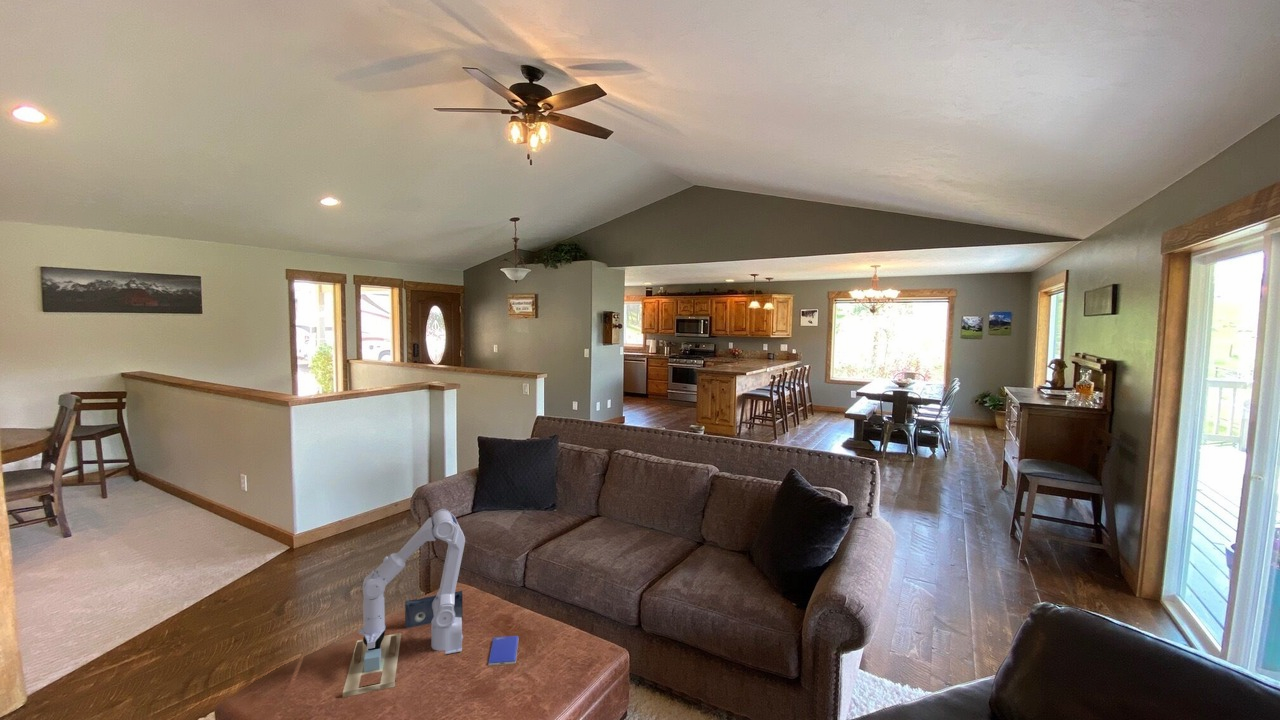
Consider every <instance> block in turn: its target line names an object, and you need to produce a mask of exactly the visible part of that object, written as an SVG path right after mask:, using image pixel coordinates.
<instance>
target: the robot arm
mask: <svg viewBox="0 0 1280 720" xmlns="http://www.w3.org/2000/svg"><path fill="white" fill-rule="evenodd" d="M436 538H437V539H439V540H441V541H443V542H445V543H446V544H448V545H447V551H446V555H445V560H444V563H443V569H442V570H443V571H442V576H441V580H440V584H439V585H440V586H439V589H438V590H437V593H436V595H437V596H436V595H435V596H436V598H435V599H434V600H433V602H432V609H433V614H434V617H433V619H432V621H431V623H430V624H431V625H430V627H431V629H430V630H431V631H430V633H431V634H430V639H431V643H430V644H431V648H432V650H434V651H438V652H439V651H440V652H441V651H444V655H449V654H455V653H459V652H462V651H463V641H464V634H463V620H462V617H455V612H454V604H455V592H456V589H457V583H458V579H459V574H460V571H461V570H460V568H461V563H462V560H463V559H462V558H463V554H464V549H465V544H466V537H465V534H464V531H463V530H462V529H461V526H460V524H459V522H458V520H457V518H456V516H455V515H454V514H453V513H452V512H450V511H449V510H447V509H445V508H444V509H439V510H437V511H435V512H434V513H433V515H432V517H429V518H428V519H426V521H425V522H423V524H422V526H421V527H420V528H418V530H417V531H416V532H415V533H414V534H413V536H411V538H410V539H409V540H408V541H407V542H406V543H405V544H404V545H403V546H402V547H401V548H400V550H399V551H398V552H394V553H391V554H389V555H388V556H387V555H386V556H385V557H383V559H382V561H383V562H382V563H381V564H380V565H378V566H377V568H376V569H372V571H371V572H370V573H369V574H367V575H366V576H365V578H364V579H363V582H362V594H363V601H362V605H363V606H362V609H363V610H362V612H363V615H362V616H363V617H362V619H363V627H362V628H361V627H360V628H359V629H358V634H359V635H363V638H362V640H363V642H364V644H365V645H366V646H367V649H368V651H369V650H374V649H380V645H381V642H382V640H383V638H384V636H386V619H385V617H386V615H385V611H386V610H385V609H386V608H385V605H386V604H385V603H386V601H385V595H384V593H385V590H386V586H387V585H388V584H390V583H391V581H393V579H394V578H396V576H398V574H399V573H400V572H401V571H403V569H404V568H405V567H406V560H408V559H409V558H410V557H411V556H412V555H413V554H414V553H415V552H416V551H417V550H418V549H419V548H421V547H422V546H423V545H424V544H425V543H427V542H436Z"/></svg>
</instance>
